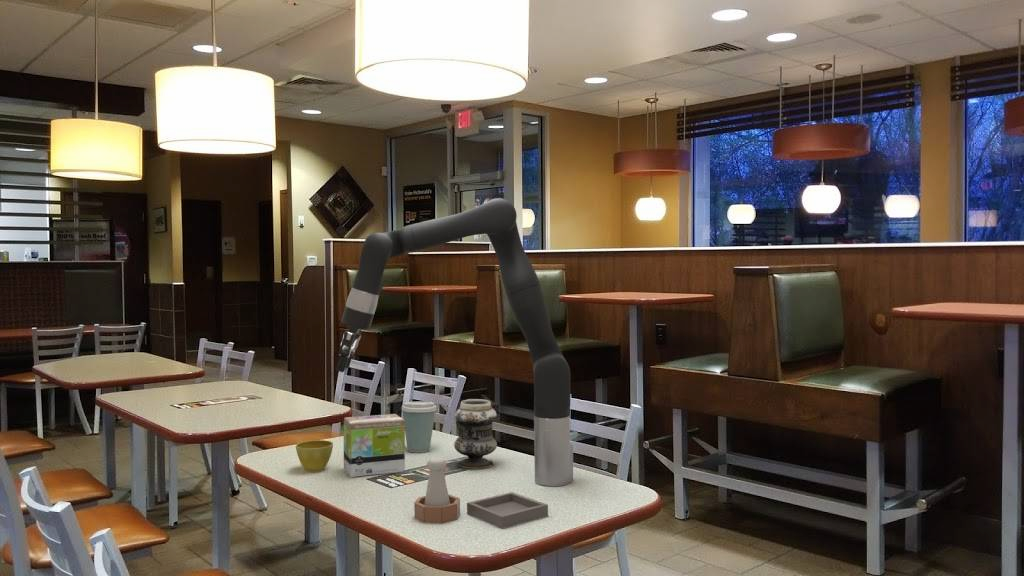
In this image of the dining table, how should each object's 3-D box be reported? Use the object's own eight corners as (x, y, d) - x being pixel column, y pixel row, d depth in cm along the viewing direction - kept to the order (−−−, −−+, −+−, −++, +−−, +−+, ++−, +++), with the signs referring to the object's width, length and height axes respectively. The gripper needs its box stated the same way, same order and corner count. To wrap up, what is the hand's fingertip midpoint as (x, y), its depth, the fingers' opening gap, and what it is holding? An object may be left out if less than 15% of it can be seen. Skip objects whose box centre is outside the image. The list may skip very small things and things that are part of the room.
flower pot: (337, 471, 215) (336, 445, 215) (300, 476, 211) (299, 450, 211) (328, 463, 224) (328, 438, 224) (292, 467, 220) (292, 442, 220)
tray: (511, 502, 186) (511, 491, 186) (548, 515, 175) (547, 504, 175) (467, 513, 178) (466, 502, 177) (502, 528, 167) (502, 516, 167)
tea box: (350, 478, 208) (350, 423, 208) (343, 469, 217) (342, 416, 217) (405, 472, 214) (405, 418, 214) (396, 463, 223) (395, 412, 223)
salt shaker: (446, 520, 173) (445, 462, 172) (421, 519, 174) (420, 461, 173) (453, 512, 178) (452, 456, 178) (429, 511, 180) (428, 455, 179)
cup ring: (443, 506, 183) (443, 491, 183) (467, 516, 175) (467, 501, 175) (408, 515, 177) (407, 499, 177) (431, 526, 169) (430, 510, 169)
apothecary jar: (492, 471, 214) (491, 405, 213) (449, 469, 216) (448, 404, 215) (500, 460, 226) (500, 398, 225) (460, 458, 228) (459, 397, 227)
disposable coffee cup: (402, 447, 243) (401, 399, 243) (437, 445, 245) (436, 398, 244) (401, 455, 233) (400, 405, 232) (437, 454, 234) (437, 404, 234)
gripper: (371, 314, 193) (352, 377, 193) (377, 310, 207) (359, 369, 208) (341, 305, 193) (323, 368, 193) (350, 302, 207) (332, 361, 207)
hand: (342, 369), depth 200 cm, fingers open, 8 cm apart
